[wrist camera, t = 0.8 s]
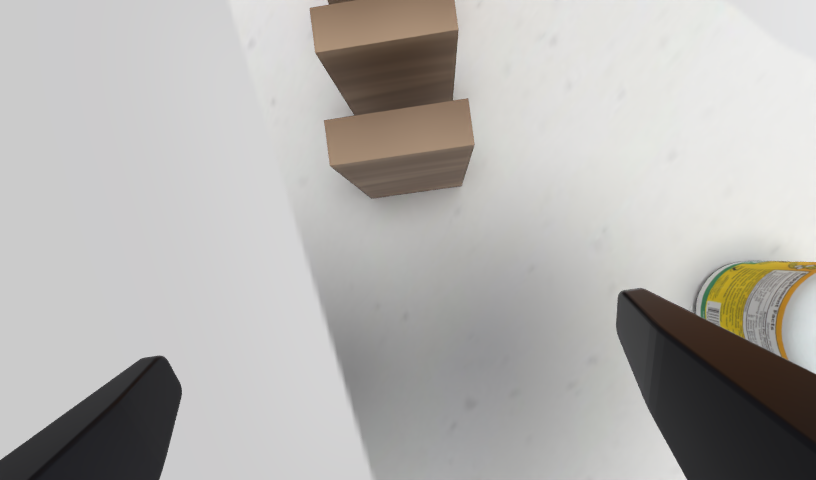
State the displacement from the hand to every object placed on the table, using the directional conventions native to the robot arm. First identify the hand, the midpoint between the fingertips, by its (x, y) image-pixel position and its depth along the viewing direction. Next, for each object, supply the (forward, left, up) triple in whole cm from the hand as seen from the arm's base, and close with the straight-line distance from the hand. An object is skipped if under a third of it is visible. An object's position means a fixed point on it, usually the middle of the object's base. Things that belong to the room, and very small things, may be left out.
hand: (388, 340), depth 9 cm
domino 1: (+8, +6, -17) cm, 19 cm away
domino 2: (+5, +3, -17) cm, 18 cm away
